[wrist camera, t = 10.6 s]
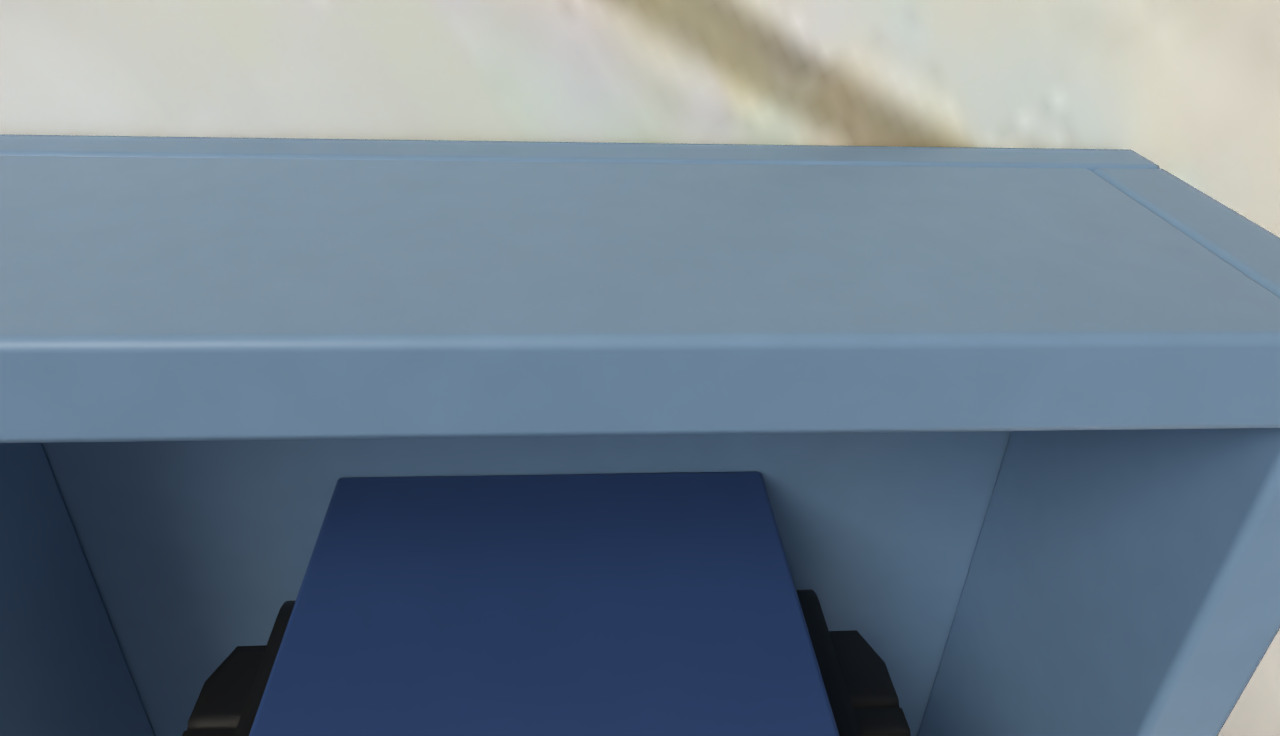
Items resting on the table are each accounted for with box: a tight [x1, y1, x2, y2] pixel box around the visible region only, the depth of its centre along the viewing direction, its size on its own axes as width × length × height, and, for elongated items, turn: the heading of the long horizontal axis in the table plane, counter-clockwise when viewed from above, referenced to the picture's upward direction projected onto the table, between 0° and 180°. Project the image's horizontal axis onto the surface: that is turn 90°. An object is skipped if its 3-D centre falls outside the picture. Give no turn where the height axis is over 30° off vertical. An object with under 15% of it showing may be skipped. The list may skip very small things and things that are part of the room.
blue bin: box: [0, 135, 1280, 736], centre depth 11 cm, size 13×13×4 cm
